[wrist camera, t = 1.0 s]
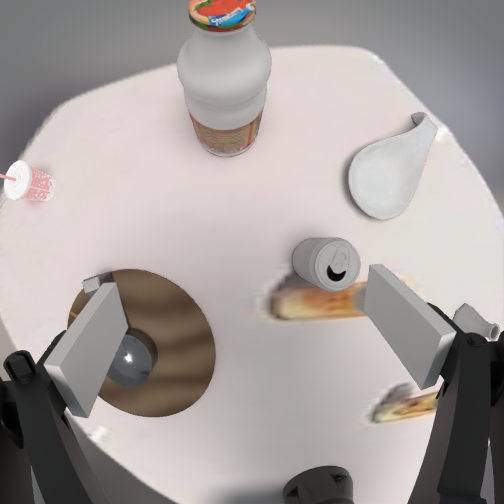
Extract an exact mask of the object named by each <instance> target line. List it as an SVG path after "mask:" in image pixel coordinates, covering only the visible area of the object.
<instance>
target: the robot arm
mask: <svg viewBox="0 0 504 504" xmlns="http://www.w3.org/2000/svg"><path fill="white" fill-rule="evenodd" d="M364 311H365V313H366V314H367V315H368V317H369V318H370V319H371V321H372V322H373V323H374V325H375V326H376V327H377V329H378V330H379V331H380V333H381V334H382V335H383V337H384V338H385V340H386V341H387V342H388V344H389V345H390V346H391V348H392V349H393V351H394V352H395V353H396V355H397V356H398V358H399V359H400V360H401V362H402V363H403V365H404V366H405V367H406V369H407V370H408V372H409V373H410V375H411V376H412V378H413V379H414V380H415V382H416V383H417V385H418V386H419V388H420V389H421V390H423V389H426V388H428V387H431V386H434V385H435V384H436V382H437V380H438V378H439V375H441V376H442V377H443V379H444V382H443V384H442V386H441V388H440V390H439V392H438V394H437V396H436V398H435V399H438V397H439V401H438V406H437V411H436V415H435V420H434V424H433V428H432V432H431V436H430V439H429V443H428V446H427V450H426V453H425V456H424V460H423V463H422V466H421V469H420V472H419V475H418V477H417V480H416V483H415V485H414V488H413V491H412V493H411V496H410V498H409V501H408V503H407V504H487V502H486V500H485V499H483V498H481V497H480V492H481V487H482V482H483V476H484V470H485V464H486V458H487V450H488V440H490V447H491V455H492V464H493V475H494V493H495V504H504V331H503V332H501V334H500V336H499V338H498V341H490V342H488V341H487V340H486V339H485V337H483V336H482V335H480V334H477V333H473V332H469V333H465V332H464V331H463V330H462V329H461V328H459V327H458V326H457V325H456V324H455V323H454V322H453V321H452V320H451V319H449V317H448V316H447V315H446V314H444V313H443V312H442V311H441V310H440V309H439V308H438V307H436V306H434V305H433V304H431V303H426V302H425V301H424V300H422V299H421V298H420V297H419V296H418V295H417V294H416V293H415V292H414V291H413V290H411V289H410V288H409V287H408V286H407V285H406V284H405V283H404V282H402V281H401V280H400V279H399V278H398V277H397V276H396V275H394V274H393V273H392V272H391V271H390V270H389V269H387V268H386V267H385V266H384V265H383V264H374V265H369V274H368V282H367V290H366V297H365V304H364ZM127 329H128V325H127V322H126V318H125V315H124V311H123V307H122V304H121V300H120V296H119V292H118V288H117V284H116V283H103V284H102V285H101V287H100V288H99V289H98V290H97V292H96V293H95V294H94V295H93V297H92V298H91V299H90V301H89V302H88V303H87V304H86V306H85V307H84V308H83V310H82V311H81V312H80V314H79V315H78V316H77V318H76V319H75V320H74V322H73V323H72V324H71V326H70V327H69V328H68V330H64V331H62V332H61V333H60V334H59V335H57V336H56V337H55V339H54V340H53V341H52V343H51V345H49V347H48V348H47V350H46V351H45V352H44V354H43V355H42V357H41V358H40V359H39V361H38V362H37V364H35V362H34V360H33V358H32V356H31V354H30V353H29V352H28V351H26V350H20V351H16V352H14V353H12V354H11V355H9V356H8V357H7V358H6V360H5V361H4V365H3V366H4V368H5V370H6V372H7V373H8V375H9V377H10V378H11V381H3V380H2V379H1V377H0V504H35V502H34V495H33V487H32V477H31V465H32V468H33V472H34V474H35V477H36V480H37V483H38V486H39V488H40V491H41V494H42V496H43V499H44V501H45V503H46V504H112V503H111V501H110V500H109V498H108V496H107V495H106V493H105V492H104V490H103V488H102V487H101V485H100V483H99V482H98V480H97V478H96V477H95V475H94V473H93V471H92V469H91V467H90V465H89V463H88V462H87V460H86V458H85V456H84V454H83V452H82V450H81V448H80V446H79V444H78V441H77V439H76V437H75V435H74V433H73V430H72V428H71V426H70V424H69V421H68V419H67V417H66V416H65V414H64V411H65V409H66V407H68V409H69V410H70V412H71V413H72V415H73V416H78V417H84V418H89V415H90V413H91V410H92V408H93V405H94V403H95V400H96V398H97V395H98V393H99V391H100V388H101V386H102V384H103V381H104V379H105V377H106V374H107V372H108V370H109V368H110V365H111V363H112V361H113V359H114V356H115V354H116V352H117V350H118V348H119V346H120V343H121V341H122V339H123V337H124V335H125V333H126V331H127ZM30 462H31V463H30ZM283 498H284V502H285V504H354V502H353V482H352V479H351V477H350V475H349V473H348V472H347V471H346V470H345V469H343V468H340V467H335V466H326V467H319V468H315V469H311V470H308V471H306V472H303V473H301V474H299V475H298V476H296V477H294V478H293V479H292V480H291V481H289V482H288V483H287V485H286V486H285V488H284V490H283Z"/></svg>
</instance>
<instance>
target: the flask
mask: <svg viewBox="0 0 504 504" xmlns="http://www.w3.org/2000/svg"><path fill="white" fill-rule="evenodd" d="M453 322H454V323H455V324H456V325H457V326H458V327H459V328H461V329H462V330H463V331H464V332H465V333H469V332H473V333H477V334H480V335H482V336H483V337H487V338H489V340H491V341H494V340H495V339H496V338H497V336H498V334H499V331H500V330H499V325H497V324H495V323H494V324H490V323H488V322H487V321H485V320H484V319H483V318H482V317H481V316H480V315H479V314H478V312H477V311H476V310H475V309H474V308H473V307H471V306H469V305H468V304H466V303H465V304H464V305H463V306H462V307H460V308H459V309H458V310H457V311H456V314H455V316H454V319H453Z"/></svg>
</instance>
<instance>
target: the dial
mask: <svg viewBox="0 0 504 504" xmlns="http://www.w3.org/2000/svg"><path fill="white" fill-rule="evenodd" d="M83 281H84V282H82V285H83V288H84V291H85V293H88V296H89V299H91V298H92V297H93V295H94V294H95V293H96V292H97V290H98V289H99V288H100V287H101V285H102V284H103V283H114V280H113V277H112V274H111V272H107V273H104V274H100V275H96V276H94V277H91V278H88V279H86V280H83ZM121 304H122V302H121ZM122 307H123V305H122ZM123 311H124V315H125V318H126V322H127V325H128V329H127V331H126V333H125V335H124V337H123V339H122V341H121V343H120V346H119V348H118V350H117V352H116V354H115V356H114V359H113V361H112V363H111V365H110V368H109V370H108V372H107V374H106V375H107V376H108V377H109V378H110V379H111V380H112V381H114V382H115V383H117V384H119V385H122V386H125V387H136V386H139V385H141V384H142V383H144V382H145V381H146V379H147V378H148V376H149V375H150V373H151V371H152V370H153V368H154V366H155V364H156V362H157V358H158V353H157V348H156V345H155V343H154V342H153V340H152V339H151V338H150V337H149V336H148V335H147V334H146V333H145V332H143V331H141V330H139V329H136V328H131V326H130V323H129V321H128V318H127V316H126V313H125V310H124V308H123Z"/></svg>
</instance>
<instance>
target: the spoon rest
mask: <svg viewBox="0 0 504 504" xmlns="http://www.w3.org/2000/svg"><path fill="white" fill-rule="evenodd" d="M412 119H413V120H414V122H415V123H416V124H417V125H418V126H417V127H415V128H414V129H412V130H410V131H408V132H406V133H403V134H400V135H396V136H392V137H389V138H386V139H382V140H379V141H377V142H374V143H372V144H370V145H368V146H366V147H365V148H363V149H362V150H360V151H359V152H358V153H357V154H356V155H355V157H354V158H353V160H352V162H351V164H350V167H349V172H348V185H349V190H350V193H351V195H352V197H353V199H354V201H355V202H356V204H357V205H358V206H359V207H360V209H361V210H362V211H364V212H365V213H366V214H368V215H369V216H371V217H373V218H376V219H379V220H389V219H392V218H395V217H397V216H398V215H400V214H401V213H403V212H404V211H405V210H406V209H407V207H408V206H409V205H410V203H411V201H412V199H413V197H414V195H415V192H416V190H417V187H418V184H419V181H420V178H421V175H422V171H423V168H424V165H425V162H426V158H427V155H428V153H429V150H430V147H431V145H432V143H433V141H434V138H435V136H436V133H437V129H438V128H437V126H436V125H435V124H434V123H433V122H432V121H431V120H430V119H429V117H428V116H427V114H426V113H424V112H417V113H414V114H412Z"/></svg>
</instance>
